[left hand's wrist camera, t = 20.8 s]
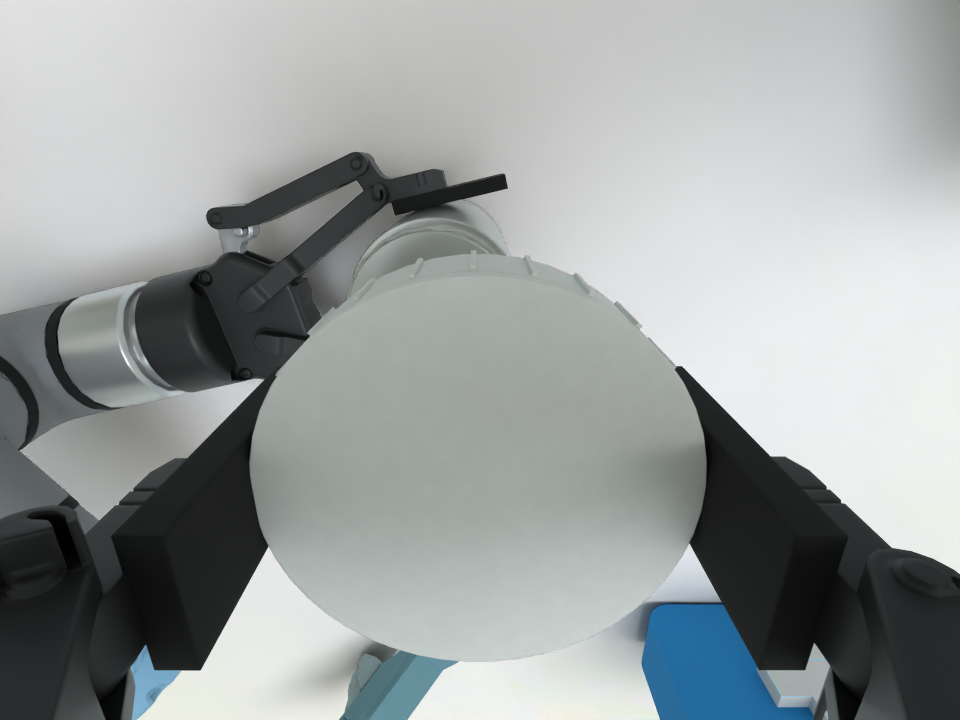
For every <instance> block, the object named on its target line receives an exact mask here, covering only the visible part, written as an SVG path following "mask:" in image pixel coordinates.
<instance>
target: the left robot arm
mask: <svg viewBox="0 0 960 720" xmlns="http://www.w3.org/2000/svg"><path fill="white" fill-rule="evenodd" d="M281 367H282V366H278V367H277V368H276V369H275V370H274V371H273V372H272V373H271V374H270V375H269V376H268V377H267V378H266V379H265V380H264V381H263V382H262V383H261V384H260V385H259V386H258V387H257V388H256V389H255V390H254V391H253V392H252V393H251V394H250V395H249V396H248V397H247V398H246V399H245V400H244V401H243V402H242V403H241V404H240V405H239V406H238V407H237V408H236V409H235V410H234V411H233V412H232V413H231V414H230V415H229V416H228V417H227V419H226V420H225V421H224V422H223V423H222V424H221V425H220V426H219V427H218V428H217V429H216V430H215V431H214V432H213V433H212V434H211V435H210V436H209V437H208V438H207V439H206V440H205V441H204V442H203V443H202V444H201V445H200V446H199V447H198V448H197V449H196V450H195V451H194V452H193V453H192V454H191V455H190V456H189V457H188V458H175V459H173V460H171V461H170V462H168V463H166V464H164V465H163V466H161V467H159V468H157V469H156V470H154V471H152V472H150V473H149V474H148V475H147V476H146V477H145V478H144V479H143V480H142V481H141V482H140V483H139V484H138V485H137V486H136V487H135V488H134V491H133V492H129V493H128V494H127V495H126V496H125V497H124V498H123V499H122V500H121V501H120V502H119V505H116V506H115V507H113V508H112V509H111V510H110V511H109V512H108V513H107V514H106V515H105V516H104V517H103V518H102V519H101V520H100V521H99V522H98V523H97V524H96V525H94V526H93V527H92V528H91V529H90V530H89V531H88V532H87V533H86V534H85V535H84V532H83V529H82V526H81V523H80V521H79V518H78V515H77V512H76V511H74V510H73V509H71V508H69V507H68V506H57V505H50V506H43V507H36V508H31V509H27V510H24V511H21V512H18V513H14V514H11V515H8V516H6V517H4V518H2V519H0V720H132V714H133V706H134V697H135V689H136V687H135V681H134V676H133V673H132V670H131V666H132V664H133V663H134V661H135V660H136V658H137V657H138V656H139V654H140V653H141V651H142V650H143V648H144V647H145V645H146V646H147V649H148V652H149V656H150V659H151V662H152V665H153V668H154V670H201V669H202V667H203V665H204V663H205V661H206V659H207V658H208V656H209V654H210V652H211V650H212V649H213V647H214V645H215V643H216V641H217V639H218V638H219V636H220V634H221V632H222V630H223V628H224V627H225V625H226V623H227V621H228V619H229V617H230V616H231V614H232V612H233V610H234V608H235V607H236V605H237V603H238V601H239V599H240V597H241V596H242V594H243V592H244V590H245V588H246V586H247V585H248V583H249V581H250V579H251V577H252V576H253V574H254V572H255V570H256V568H257V566H258V565H259V563H260V561H261V559H262V557H263V555H264V554H265V552H266V550H267V548H268V544H267V542H266V540H265V538H264V536H263V533H262V530H261V528H260V524H259V520H258V515H257V510H256V505H255V500H254V494H253V489H252V484H251V478H250V467H249V461H250V452H251V443H252V436H253V432H254V428H255V425H256V421H257V418H258V414H259V411H260V408H261V406H262V404H263V402H264V400H265V398H266V395H267V393H268V391H269V389H270V387H271V385H272V383H273V382H274V380H275V379H276V377H277V376H275V375H276V373H277V372H278V370H279V369H280V368H281ZM675 371H676V372H677V374H678V375H679V377H680V378H681V380H682V381H683V383H684V384H685V387H686V389H687V391H688V393H689V395H690V397H691V399H692V401H693V403H694V405H695V407H696V410H697V414H698V417H699V420H700V424H701V427H702V430H703V434H704V441H705V449H706V457H707V474H706V490H705V495H704V501H703V506H702V511H701V514H700V517H699V520H698V523H697V526H696V529H695V532H694V534H693V536H692V538H691V540H690V542H689V543H690V545H691V547H692V549H693V551H694V552H695V554H696V556H697V558H698V560H699V561H700V563H701V565H702V567H703V569H704V571H705V572H706V574H707V576H708V578H709V580H710V582H711V583H712V585H713V587H714V589H715V591H716V593H717V594H718V596H719V598H720V600H721V602H722V603H723V605H724V607H725V609H726V611H727V613H728V614H729V616H730V618H731V620H732V622H733V624H734V625H735V627H736V629H737V631H738V633H739V635H740V636H741V638H742V640H743V642H744V644H745V645H746V647H747V649H748V651H749V653H750V655H751V656H752V658H753V660H754V662H755V664H756V666H757V667H758V669H759V670H806V667H807V664H808V660H809V657H810V654H811V651H812V648H813V645H814V643H815V645H816V646H817V648H818V649H819V650H820V652H821V653H822V655H823V656H824V658H825V659H826V660H827V662H828V663H829V665H830V667H829V670H828V673H827V676H826V679H825V682H824V685H823V688H822V690H821V693H820V696H819V699H818V702H817V705H816V708H815V712H814V718H813V720H823V717H824V714H825V711H827V712H828V720H960V574H959V573H957V572H956V571H955V570H953V569H951V568H950V567H948V566H946V565H944V564H942V563H940V562H938V561H936V560H934V559H932V558H929V557H926V556H924V555H921V554H918V553H915V552H912V551H907V550H901V549H895V548H891V547H890V546H889V545H888V544H887V543H886V542H885V541H884V540H883V539H882V538H881V537H880V536H879V535H878V534H876V533H875V532H874V531H873V530H872V529H871V528H870V527H869V526H868V525H867V524H866V523H865V522H864V521H863V520H862V519H860V518H859V517H858V516H857V515H856V514H855V513H854V512H853V511H852V510H851V509H850V508H849V507H848V506H847V505H846V504H842V503H841V500H840V499H839V498H838V497H837V496H836V495H835V494H834V493H833V492H832V491H831V490H827V488H826V486H825V485H824V484H823V483H822V482H821V481H820V480H819V479H818V478H817V477H816V476H815V475H814V474H813V473H812V472H810V471H809V470H808V469H806V468H804V467H802V466H801V465H799V464H797V463H795V462H794V461H792V460H790V459H788V458H786V457H770V456H769V454H768V453H767V452H766V451H765V450H764V449H763V448H762V447H761V446H760V445H759V444H758V443H757V442H756V441H755V440H754V439H753V438H752V437H751V436H750V435H749V434H748V433H747V432H746V431H745V430H744V429H743V428H742V427H741V426H740V425H739V424H738V423H737V422H736V421H735V420H734V419H733V418H732V417H731V416H730V415H729V414H728V413H727V412H726V411H725V410H724V409H723V408H722V407H721V406H720V405H719V404H718V403H717V402H716V401H715V400H714V399H713V397H712V396H711V395H710V394H709V393H708V392H707V391H706V390H705V389H704V388H703V387H702V386H701V385H700V384H699V383H698V382H697V381H696V380H695V379H694V378H693V377H692V376H691V375H690V374H689V373H688V372H687V371H686V370H685V369H684V368H683V367H682V366H676V369H675Z"/></svg>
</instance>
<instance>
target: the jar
mask: <svg viewBox="0 0 960 720" xmlns="http://www.w3.org/2000/svg"><path fill="white" fill-rule="evenodd" d="M471 250H476V254H495V255H503V256H510V254H509V251H508V248H507V246H506V243H505V241H504V238H503V236H502V233H501V231H500V229H499V227H498V226H497V224H496V223H495V221H494V220H493V219H492V218H491V216H490V215H489V214H488V213H487V212H485V211H484V210H483V209H482V208H480V207H478V206H477V205H475V204H473V203H471V202H468V201H465V200H458V201H453V202H449V203H445V204H441V205H437V206H433V207H428V208H424V209H420V210H416V211H412V212H410V213H409V214H408V215H406V216H405V217H404V218H402V219H401V220H400V221H398V222H397V223H396V224H395V225H393V226H392V227H391V228H389V229H388V230H387V231H386V232H384V233H383V234H382V235H381V236H379V237H378V238H377V239H376V240H375V241H374V242H373V243H372V244H371V245H370V246H369V247H368V248H367V250H366V251H365V252H364V254H363V255H362V257H361V258H360V260H359V262H358V264H357V266H356V268H355V271H354V274H353V276H352V278H351V281H350V285H349V289H348V293H347V296H346V300H348V299H349V298H350V297H351V296H353V295H354V294H355V293H356V292H357V291H359V290H360V289H361V288H362V287H363V286H364V285H365V284H366V283H367V282H368V281H369V279H371V278H373V277H374V278H375V280H377V279H379V278H380V277H382V276H384V275H387V274H389V273H391V272H394V271H396V270H398V269H401V268H403V267H405V266H408V265H411V264H415V263H416V261H417V259H419V258H423V260H424V261H426V260H429V259H433V258H439V257H446V256H453V255H461V254H471ZM346 300H345V301H346Z"/></svg>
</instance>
